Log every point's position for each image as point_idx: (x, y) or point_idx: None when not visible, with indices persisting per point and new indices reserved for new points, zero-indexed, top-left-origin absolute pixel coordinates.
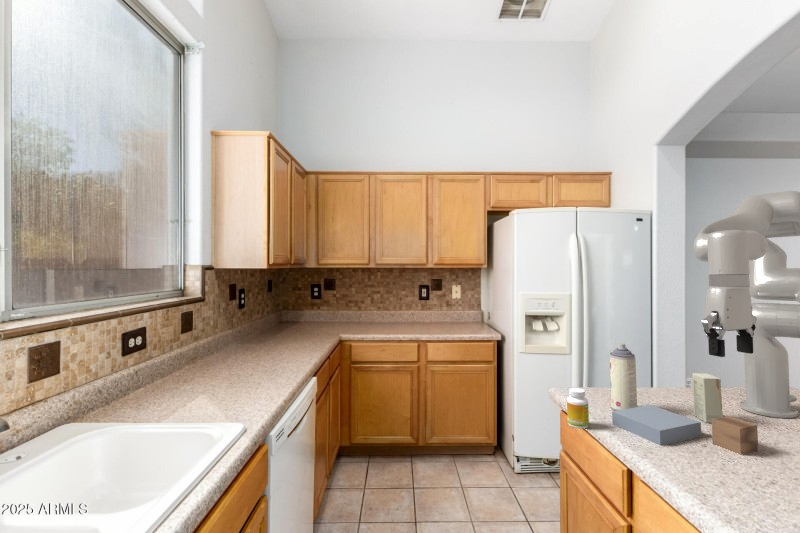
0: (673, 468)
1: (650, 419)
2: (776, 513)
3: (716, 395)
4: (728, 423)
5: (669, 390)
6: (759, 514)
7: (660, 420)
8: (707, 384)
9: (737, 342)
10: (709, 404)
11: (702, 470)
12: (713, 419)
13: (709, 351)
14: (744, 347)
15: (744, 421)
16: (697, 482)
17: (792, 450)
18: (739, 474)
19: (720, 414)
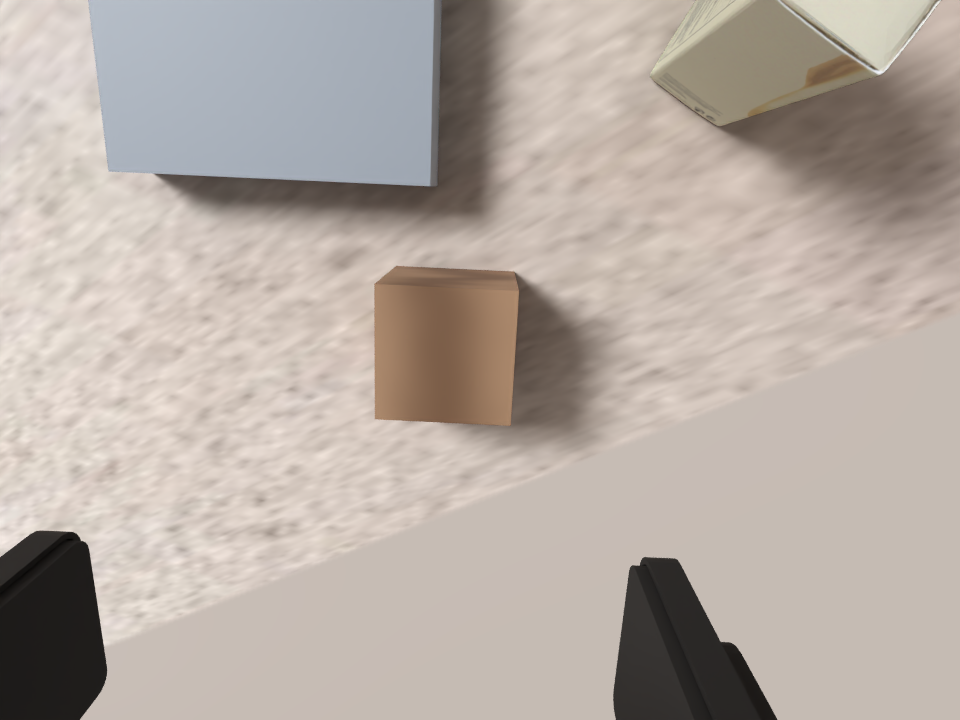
0: (28, 341)
1: (196, 22)
2: None
3: (769, 83)
4: (398, 355)
5: None
6: None
7: (238, 64)
8: (760, 26)
9: (671, 665)
10: (704, 68)
11: (123, 394)
12: (385, 287)
13: (14, 557)
14: (632, 700)
15: (505, 373)
16: (28, 438)
17: (632, 437)
18: (224, 462)
19: (729, 114)
